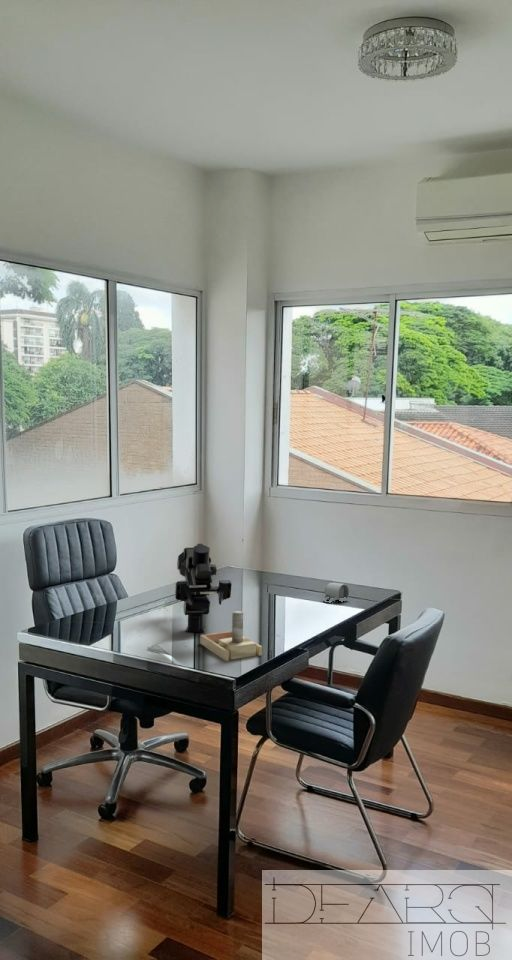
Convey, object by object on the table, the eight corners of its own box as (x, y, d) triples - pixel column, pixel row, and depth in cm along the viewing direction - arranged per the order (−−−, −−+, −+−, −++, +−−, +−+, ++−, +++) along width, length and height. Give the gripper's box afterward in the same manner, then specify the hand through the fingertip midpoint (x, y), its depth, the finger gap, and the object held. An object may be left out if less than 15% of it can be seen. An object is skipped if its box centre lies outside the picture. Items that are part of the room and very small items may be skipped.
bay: (198, 646, 264) (198, 634, 263) (235, 641, 270) (235, 630, 270) (224, 664, 246) (224, 651, 246) (263, 658, 253) (263, 646, 252)
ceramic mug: (334, 597, 337) (334, 579, 336) (349, 600, 331) (349, 582, 330) (318, 601, 329) (318, 583, 328) (334, 605, 323) (334, 587, 322)
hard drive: (147, 647, 259) (177, 653, 252) (162, 641, 265) (192, 647, 259) (147, 651, 259) (177, 658, 252) (162, 645, 266) (192, 652, 259)
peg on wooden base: (218, 651, 255) (219, 610, 254) (242, 647, 260) (243, 607, 258) (230, 659, 248) (231, 617, 246) (255, 655, 252) (256, 614, 251)
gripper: (174, 558, 265) (179, 584, 251) (229, 557, 269) (236, 582, 255) (173, 586, 269) (177, 612, 256) (226, 585, 273) (233, 610, 260)
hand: (206, 604), depth 256 cm, fingers open, 9 cm apart
